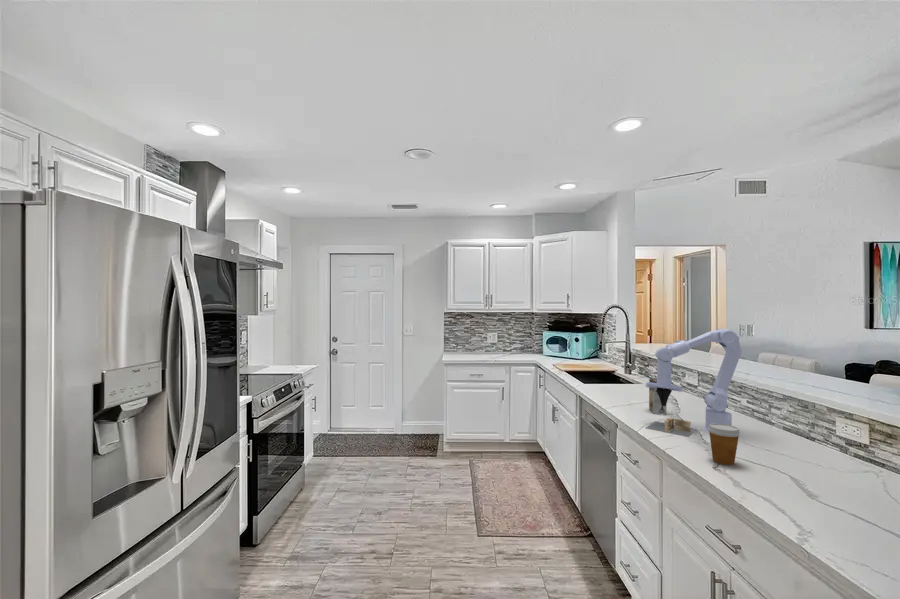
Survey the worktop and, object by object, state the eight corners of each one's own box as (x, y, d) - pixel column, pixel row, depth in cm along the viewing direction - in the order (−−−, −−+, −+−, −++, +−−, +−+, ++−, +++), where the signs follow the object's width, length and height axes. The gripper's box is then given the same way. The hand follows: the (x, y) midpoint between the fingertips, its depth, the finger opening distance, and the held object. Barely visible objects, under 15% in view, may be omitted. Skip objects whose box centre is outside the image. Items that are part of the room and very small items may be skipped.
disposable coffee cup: (737, 459, 150) (737, 425, 150) (742, 468, 141) (743, 432, 141) (705, 455, 154) (706, 421, 154) (709, 463, 145) (709, 428, 145)
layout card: (697, 430, 184) (697, 429, 184) (688, 438, 173) (688, 436, 173) (655, 422, 195) (655, 421, 195) (644, 429, 184) (644, 428, 184)
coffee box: (648, 409, 220) (648, 378, 220) (661, 410, 218) (662, 379, 218) (653, 414, 211) (653, 381, 211) (667, 415, 209) (667, 382, 209)
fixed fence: (690, 431, 180) (690, 421, 180) (689, 432, 179) (689, 422, 179) (675, 428, 184) (675, 418, 184) (674, 429, 183) (674, 419, 183)
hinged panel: (670, 427, 186) (670, 417, 186) (674, 427, 184) (674, 417, 184) (663, 431, 179) (664, 420, 179) (667, 431, 178) (668, 421, 178)
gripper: (643, 373, 192) (643, 404, 191) (679, 378, 181) (678, 410, 181) (649, 372, 197) (649, 401, 196) (684, 376, 186) (683, 407, 186)
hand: (663, 405), depth 189 cm, fingers closed
